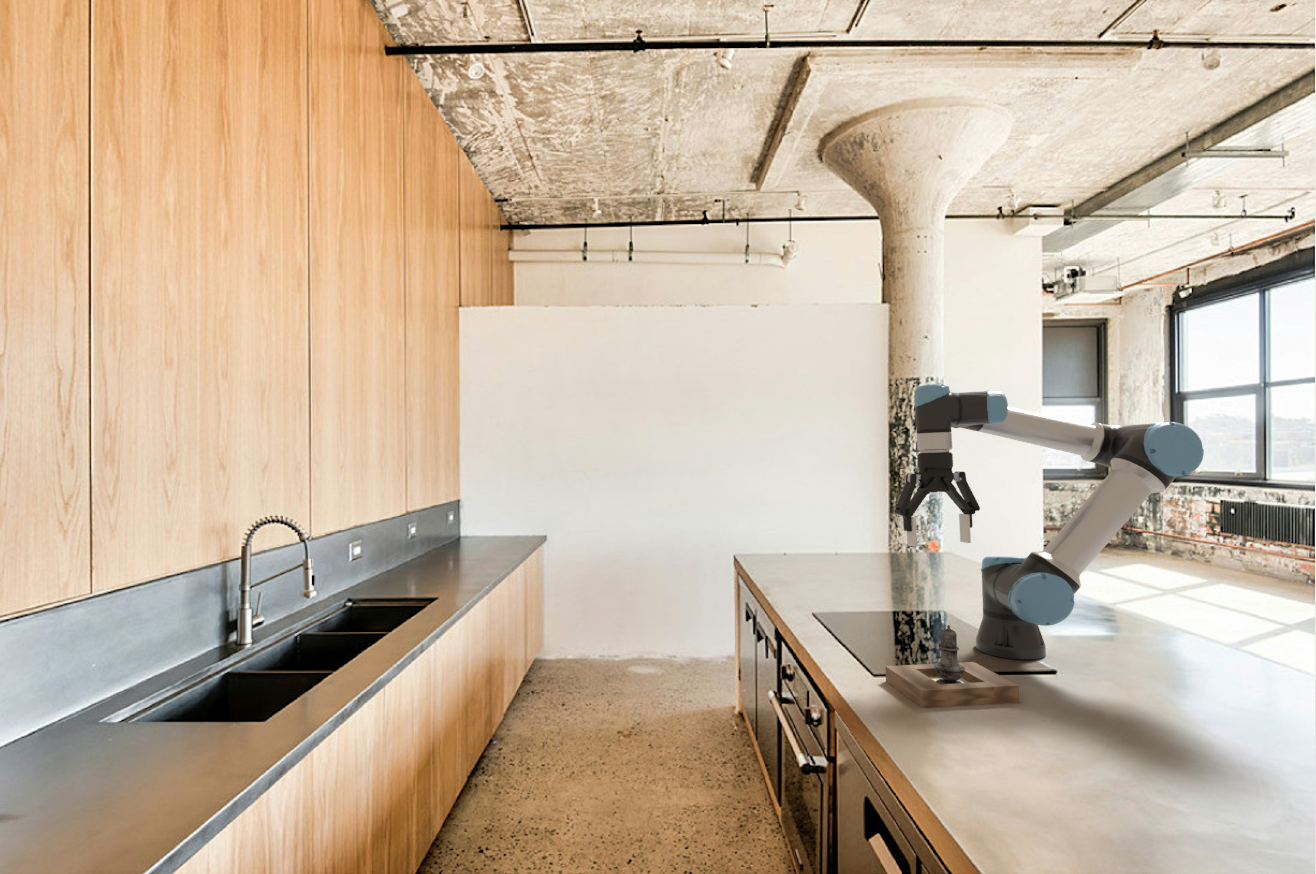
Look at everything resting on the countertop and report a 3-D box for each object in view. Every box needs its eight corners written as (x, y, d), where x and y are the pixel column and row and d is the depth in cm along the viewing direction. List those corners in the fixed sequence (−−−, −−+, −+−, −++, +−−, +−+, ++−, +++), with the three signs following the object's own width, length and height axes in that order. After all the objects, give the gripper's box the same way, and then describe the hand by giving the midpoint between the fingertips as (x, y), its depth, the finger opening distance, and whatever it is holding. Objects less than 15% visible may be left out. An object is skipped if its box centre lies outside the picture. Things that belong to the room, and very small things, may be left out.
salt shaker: (962, 691, 130) (960, 629, 131) (930, 685, 134) (929, 625, 134) (968, 683, 135) (967, 623, 135) (938, 677, 139) (937, 619, 139)
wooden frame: (973, 676, 143) (973, 661, 143) (1019, 702, 128) (1019, 685, 128) (885, 681, 141) (885, 666, 141) (922, 707, 126) (922, 690, 126)
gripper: (972, 450, 159) (976, 539, 158) (876, 453, 154) (880, 545, 153) (993, 449, 151) (998, 542, 151) (894, 453, 147) (898, 549, 146)
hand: (939, 544), depth 152 cm, fingers open, 13 cm apart
